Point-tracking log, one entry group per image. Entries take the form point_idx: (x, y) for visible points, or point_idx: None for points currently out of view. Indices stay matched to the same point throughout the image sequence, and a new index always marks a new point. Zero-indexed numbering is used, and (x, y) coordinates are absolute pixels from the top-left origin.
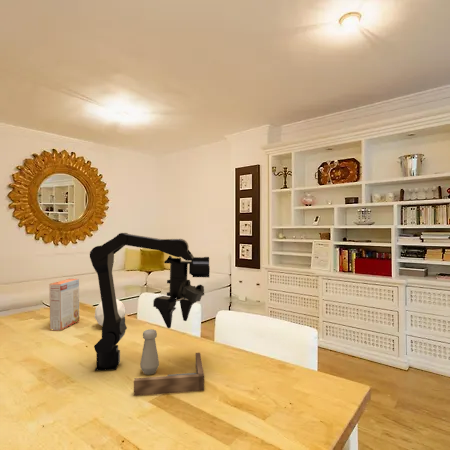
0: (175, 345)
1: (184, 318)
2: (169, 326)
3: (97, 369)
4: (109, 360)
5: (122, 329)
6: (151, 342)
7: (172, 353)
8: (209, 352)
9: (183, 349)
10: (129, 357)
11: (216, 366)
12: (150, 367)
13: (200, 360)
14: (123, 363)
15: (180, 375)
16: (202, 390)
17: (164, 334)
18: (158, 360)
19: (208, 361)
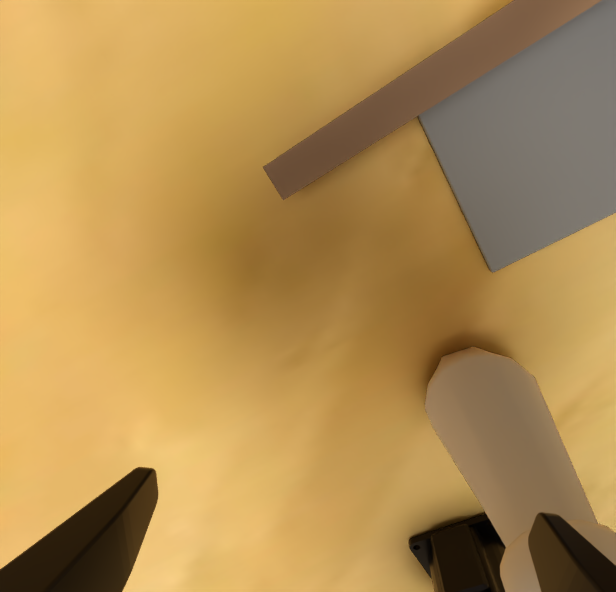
0: (112, 423)
1: (141, 516)
2: (579, 538)
3: None
4: None
5: None
6: (579, 506)
7: (211, 387)
8: (76, 194)
9: (132, 361)
10: (347, 527)
11: (250, 27)
12: (532, 376)
13: (413, 77)
14: (414, 517)
15: None
16: None
17: (29, 528)
18: (467, 376)
19: (204, 129)
